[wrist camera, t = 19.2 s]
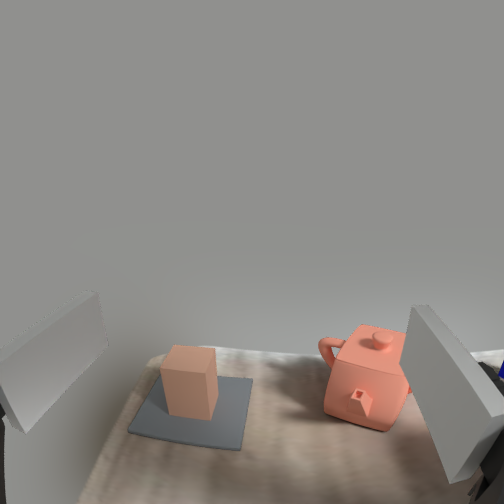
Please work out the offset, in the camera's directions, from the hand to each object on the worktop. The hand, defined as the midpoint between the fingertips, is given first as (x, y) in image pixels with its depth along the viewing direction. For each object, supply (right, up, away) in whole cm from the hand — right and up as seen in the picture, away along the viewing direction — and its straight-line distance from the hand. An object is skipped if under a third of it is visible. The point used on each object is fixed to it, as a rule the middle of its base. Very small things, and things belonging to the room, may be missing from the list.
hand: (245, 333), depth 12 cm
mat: (-10, -23, +37) cm, 45 cm away
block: (-10, -23, +37) cm, 44 cm away
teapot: (+19, -24, +35) cm, 47 cm away
